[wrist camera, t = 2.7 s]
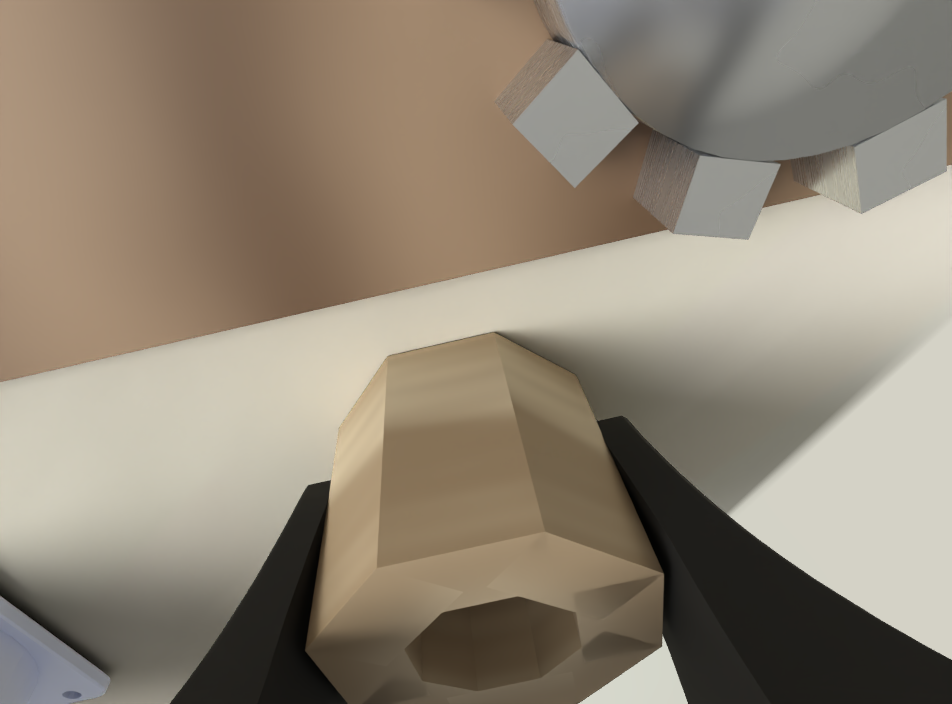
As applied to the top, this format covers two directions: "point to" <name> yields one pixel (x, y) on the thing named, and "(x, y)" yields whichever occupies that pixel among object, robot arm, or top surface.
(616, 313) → the top surface
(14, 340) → the gear board
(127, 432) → the top surface
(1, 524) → the top surface
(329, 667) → the octagonal wooden tube
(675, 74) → the gear
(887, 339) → the top surface
